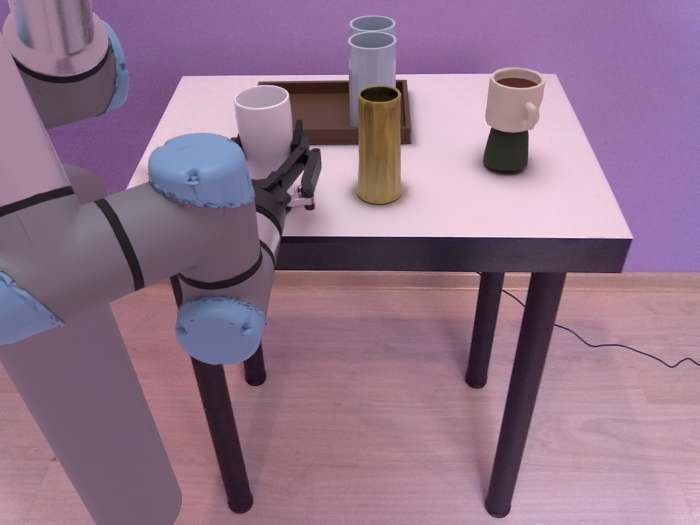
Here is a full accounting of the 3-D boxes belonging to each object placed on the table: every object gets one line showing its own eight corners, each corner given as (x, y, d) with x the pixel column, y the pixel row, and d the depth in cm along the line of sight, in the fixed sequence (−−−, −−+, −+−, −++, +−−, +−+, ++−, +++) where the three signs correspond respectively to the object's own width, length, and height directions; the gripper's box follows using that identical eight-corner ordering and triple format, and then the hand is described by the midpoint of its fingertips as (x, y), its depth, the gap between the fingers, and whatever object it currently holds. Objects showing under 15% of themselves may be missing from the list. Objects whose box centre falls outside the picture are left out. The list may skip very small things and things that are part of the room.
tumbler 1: (351, 117, 102) (348, 31, 93) (352, 98, 107) (350, 15, 98) (394, 117, 101) (395, 30, 92) (393, 98, 107) (394, 15, 98)
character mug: (545, 180, 86) (564, 91, 77) (498, 188, 84) (511, 98, 76) (510, 142, 94) (523, 58, 85) (466, 150, 92) (475, 65, 84)
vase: (384, 210, 81) (385, 109, 72) (347, 195, 84) (344, 96, 75) (410, 189, 85) (414, 90, 76) (373, 175, 88) (373, 78, 79)
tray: (243, 145, 96) (241, 129, 94) (260, 95, 109) (258, 81, 107) (410, 143, 94) (411, 128, 93) (406, 93, 108) (406, 79, 106)
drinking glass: (291, 182, 87) (279, 80, 77) (307, 207, 82) (297, 101, 72) (244, 194, 85) (226, 90, 75) (257, 220, 80) (241, 113, 71)
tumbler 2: (349, 138, 96) (347, 49, 87) (351, 117, 102) (348, 31, 93) (395, 138, 96) (396, 48, 87) (394, 117, 101) (395, 30, 92)
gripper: (161, 262, 67) (206, 154, 85) (339, 262, 67) (347, 153, 84) (145, 205, 63) (196, 103, 80) (336, 204, 62) (345, 101, 79)
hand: (273, 129), depth 82 cm, fingers closed on drinking glass, 6 cm apart
